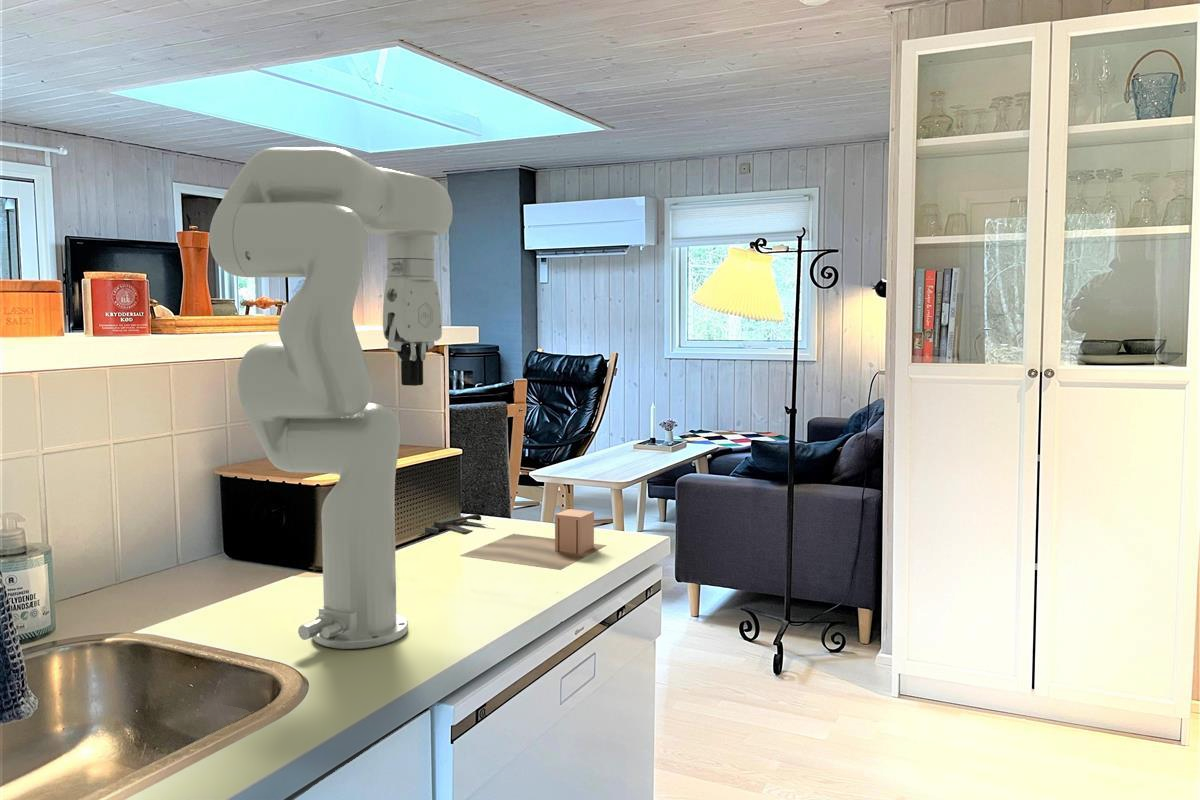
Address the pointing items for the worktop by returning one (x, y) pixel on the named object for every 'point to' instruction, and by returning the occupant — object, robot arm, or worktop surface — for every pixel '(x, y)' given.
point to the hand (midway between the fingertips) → (412, 384)
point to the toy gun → (455, 521)
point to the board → (528, 552)
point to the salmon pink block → (574, 531)
